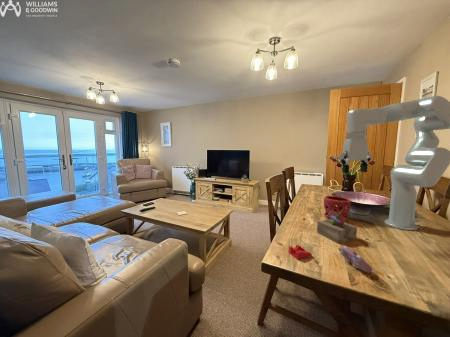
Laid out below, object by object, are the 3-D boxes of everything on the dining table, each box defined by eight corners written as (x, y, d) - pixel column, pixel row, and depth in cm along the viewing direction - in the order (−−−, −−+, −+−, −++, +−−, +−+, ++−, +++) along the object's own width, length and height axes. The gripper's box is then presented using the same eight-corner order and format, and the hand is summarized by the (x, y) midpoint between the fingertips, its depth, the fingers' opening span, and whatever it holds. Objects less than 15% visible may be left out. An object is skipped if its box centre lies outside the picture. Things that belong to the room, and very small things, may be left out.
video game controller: (341, 261, 70) (334, 245, 69) (351, 255, 70) (344, 239, 69) (363, 279, 60) (355, 261, 59) (375, 272, 60) (367, 254, 59)
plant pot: (349, 224, 100) (351, 202, 99) (322, 219, 107) (323, 198, 105) (349, 217, 111) (350, 197, 110) (324, 213, 118) (325, 194, 116)
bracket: (297, 260, 68) (298, 253, 68) (288, 253, 72) (289, 246, 72) (311, 257, 70) (312, 249, 70) (302, 250, 75) (302, 243, 74)
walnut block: (333, 230, 94) (334, 218, 93) (355, 240, 84) (356, 227, 83) (316, 233, 90) (317, 221, 89) (337, 244, 80) (338, 230, 79)
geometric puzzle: (352, 221, 84) (341, 204, 87) (347, 225, 79) (336, 207, 82) (337, 226, 89) (327, 211, 92) (332, 230, 84) (321, 214, 87)
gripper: (365, 136, 94) (363, 170, 95) (333, 137, 91) (332, 172, 93) (379, 135, 86) (377, 172, 88) (345, 136, 84) (344, 174, 86)
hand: (354, 172), depth 90 cm, fingers open, 9 cm apart
